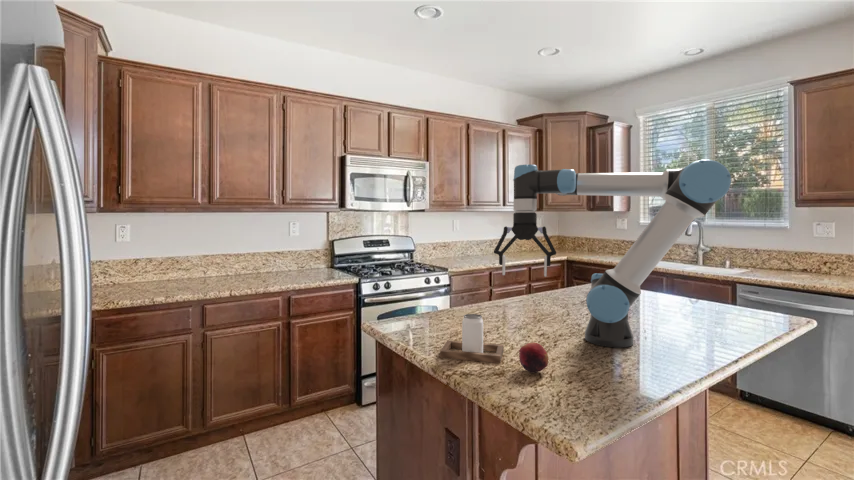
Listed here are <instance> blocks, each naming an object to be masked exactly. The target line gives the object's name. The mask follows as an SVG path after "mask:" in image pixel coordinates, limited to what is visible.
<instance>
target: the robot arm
mask: <svg viewBox="0 0 854 480" xmlns="http://www.w3.org/2000/svg"><path fill="white" fill-rule="evenodd" d="M513 171H514V174H513V179H512V181H513V209H512V210H513V211H514V213H513V218H512V219H513V223H512V224H513V226H512V227H509V226H506V225H505V226H504V227H503V231H502V234H501V236H500V239H499V240H498V242H497V244H496V246H495V248H494V250H493V253H494V254H496V255H498V261H499V262H498V264H499V266H502V267H501V268H502V271H501V273H502V274H501V275H502V276H505V275H506V255H504V254H505V252H507V250H508V249H509V248H510V247H511V246H512V245H513V244H514V242H516V240H520V241H523V240H525V241H531V240H533V241H534V242H535V244H536V245H537V246H538V247H539V248H540V250H541V251H543V253H544V254H545V256H544V261H543V262H544V263H543V275H544V277H545V278H546V277H548V276H547V273H548V272H547V271H548V269H547V267H550V266H551V257H552V256H556V255H557V251H556V249H555V247H554V244H553V243H552V241H551V240H550V237H549V235H548V232H547V227H546V226H542V227H541V226H540V227H538V226H537V224H538V223H537V217H538V214H537V210H538V209H537V207H538V205H537V203H538V194H541V195H542V194H555V195H558V196H602V197H603V196H604V197H605V196H606V197H607V196H608V197H611V196H613V197H616V196H617V197H651V198H653V197H654V198H655V197H658V198H659V197H660V198H662V200H664V201H665V202H664V204H663V205H662V206H661V208H660V209H659V210H658V211H657V213H656V214H655V216H654V217H653V218H652V219H651V220H650V222H648V224H647V225H646V227H645V228H644V230H643V231H642V232H641V233H640V235H639V236H638V237H637V238H636V239H635V241H634V242H633V244H632V245H631V246H630V248H628V250H627V251H626V252H625V254H624V255H623V256H622V258H621V259H620V260H619V262H618V263H617V264H616V265H615V266H614V268H611V269H606V270H605V271H604V272H603V273H597V272H596V273H593V274H592V275H591V279H590V284H591V287H590V290H589V292H588V293H587V295H586V301H585V302H586V307H587V310H588V311H589V313H590V318H589V320H588V323H587V325H586V328H585V331H584V339H585V341H587V342H588V343H591V344H593V345H596V346H601V347H605V348H606V347H607V348H616V349H617V348H628V347H631V346H633V345H634V334H633V332H632V328H631V325H630V322H629V311H630V308H631V306H632V305H633V304H634V303H635V302H636V301H637V299H638V298H639V296H641V294H642V291H641V285H642V284H643V283H644V281H645V280H646V279H647V278H648V277H649V275H650V274H651V273H652V271H653V270H655V269H656V267H657V266H658V264H659V263H660V262H661V260H663V258H664V257H665V256H666V255H667V253H668V252H669V250H670V249H671V248H672V247H673V246H674V244H675V243H676V242H677V241H678V239H679V238H680V237H681V236H682V234H684V232H685V231H686V230H687V228H688V227H689V226H690V225H691V224H692V222H693V221H694V220H695V219H699V218H703V217H705V216H706V215H707V213H709V211H710V210H711V208H713V206H714V205H715V204H716V202H717V201H718V200H721V199H722V198H723V197H725V196H726V194H728V192H729V190H730V188H731V185H732V176H731V173H730V170H728V168H727V166H725V165H724V164H722V163H721V162H719V161H716V160H714V159H713V160H712V159H699V160H695V161H693V162H691V163H689V164H688V165H686V166H685V167H682V168H681V167H680V168H672V169H671V168H670V169H669V168H668V169H665V170H664V171H663V172H591V173H590V172H585V173H584V172H581V173H580V172H578V173H577V172H576V171H575V169H573V168H572V169H567V168H562V169H561V168H560V169H550V170H548V169H546V170H541V169H540V170H538V166H537V164H519V165H516V166H515V167H514V170H513ZM538 231H539V232H540V234H542V235H543V237H544V239H545V242H546V243H547V245H548V247H549V250H550V251H549V250H548V249H547V247H545V245H544V244H543V243H542V242H541V241H540V240H539V238H538V237H537V236H536V234H537V233H538ZM510 232H512V233H513V235H514V236H513V237H512V238H511V239H510V240H509V241H508V243H507V244H506V245H505V246H504V247H503V248H502V249H501V247H502V245H503V243H504V241H505V239H506V237H507V234H509V233H510ZM500 249H501V250H500Z"/></svg>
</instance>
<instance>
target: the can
mask: <svg viewBox="0 0 854 480" xmlns="http://www.w3.org/2000/svg"><path fill="white" fill-rule="evenodd" d="M461 326H462V327H461V332H462V333H461V335H462V336H461V340H462V349H461V351H464V352H476V353H484V351H483V343H484V320H483V316H482V315H480V314H477V313H467V314H464V315H463V319H462V320H461Z"/></svg>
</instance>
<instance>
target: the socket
mask: <svg viewBox="0 0 854 480" xmlns="http://www.w3.org/2000/svg"><path fill="white" fill-rule="evenodd" d="M451 349H457V350H451ZM459 349H460V350H459ZM486 352H492V353H486ZM494 352H495V353H494ZM503 353H504V344H503V343H501V344H500V343H487V342H486V343H485V342H483V353H476V352H464V351H462V341H461V340H459V341H458V340H447V341H445V344H444V345H443V346H442V348H441V349H440V351H439V358H440V359H450V360H451V359H453V360H462V361H464V360H465V361H474V362H484V363H487V362H488V363H496V364H501V362H502V357H503Z"/></svg>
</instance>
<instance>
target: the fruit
mask: <svg viewBox="0 0 854 480" xmlns="http://www.w3.org/2000/svg"><path fill="white" fill-rule="evenodd" d="M518 351H519V352H518V353H519V354H518V357H519V363H520V365H521V366H522V368H523V369H524V370H525V371H527V372H529V373H530V374H536V373H539V372H541V371H543V370H544V369H546V368H547V366H548V364H549V354H548V353H547V351H546V349H545V348H544V346H543V345H541V344H540V343H538V342H533V341H532V342H528V343H526V344H524V345H522V346H521V347H520V348H519V350H518Z"/></svg>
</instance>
